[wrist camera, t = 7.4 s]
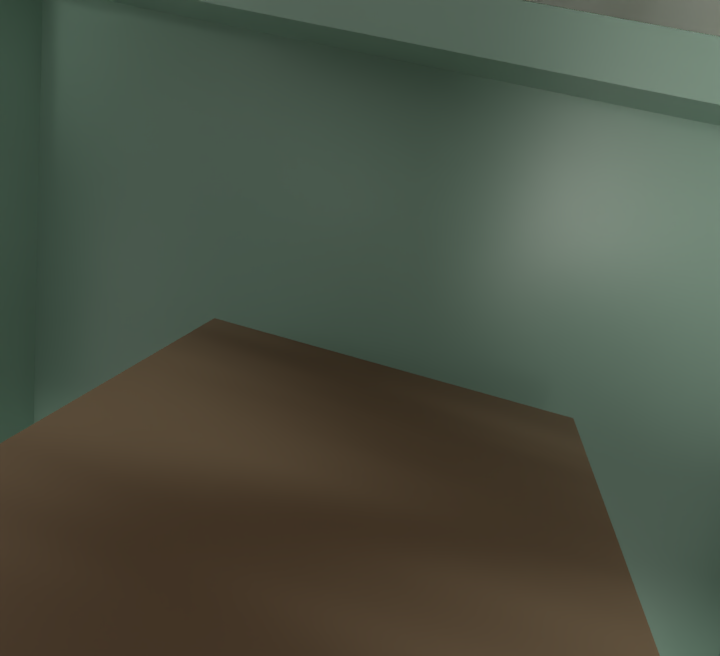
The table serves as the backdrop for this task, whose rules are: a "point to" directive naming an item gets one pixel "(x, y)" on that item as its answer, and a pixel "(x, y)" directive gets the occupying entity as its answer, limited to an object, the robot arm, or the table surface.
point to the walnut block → (304, 516)
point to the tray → (388, 222)
